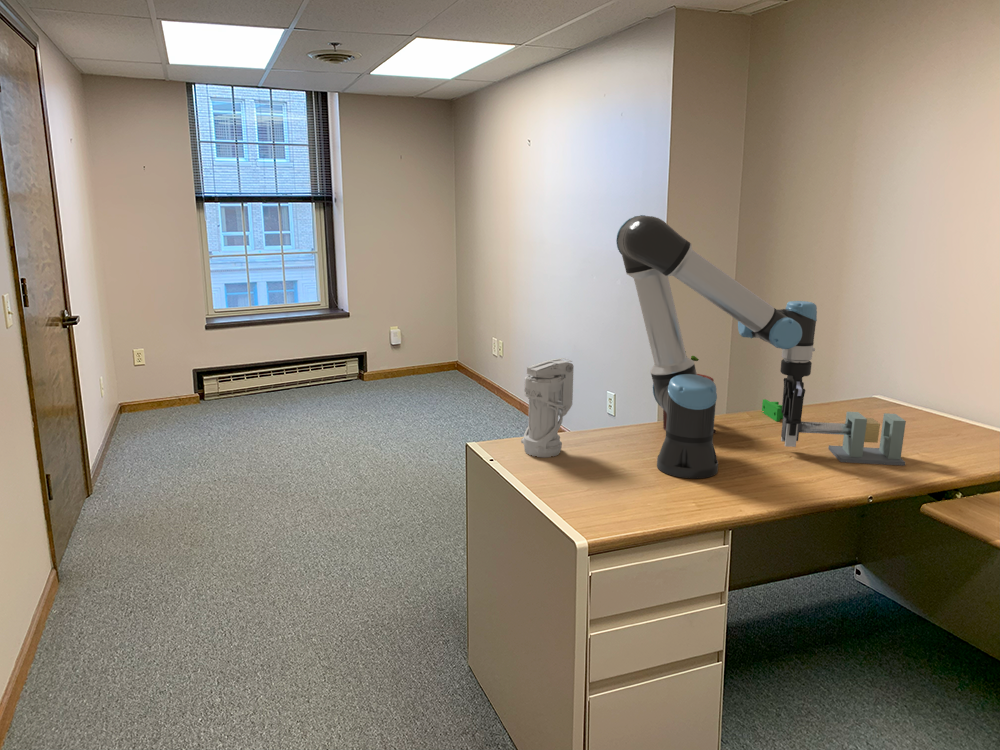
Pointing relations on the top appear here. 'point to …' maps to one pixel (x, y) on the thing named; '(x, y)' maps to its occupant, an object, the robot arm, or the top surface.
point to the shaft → (818, 428)
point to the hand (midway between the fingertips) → (788, 443)
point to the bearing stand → (883, 455)
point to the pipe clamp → (772, 410)
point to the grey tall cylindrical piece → (547, 405)
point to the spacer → (872, 430)
